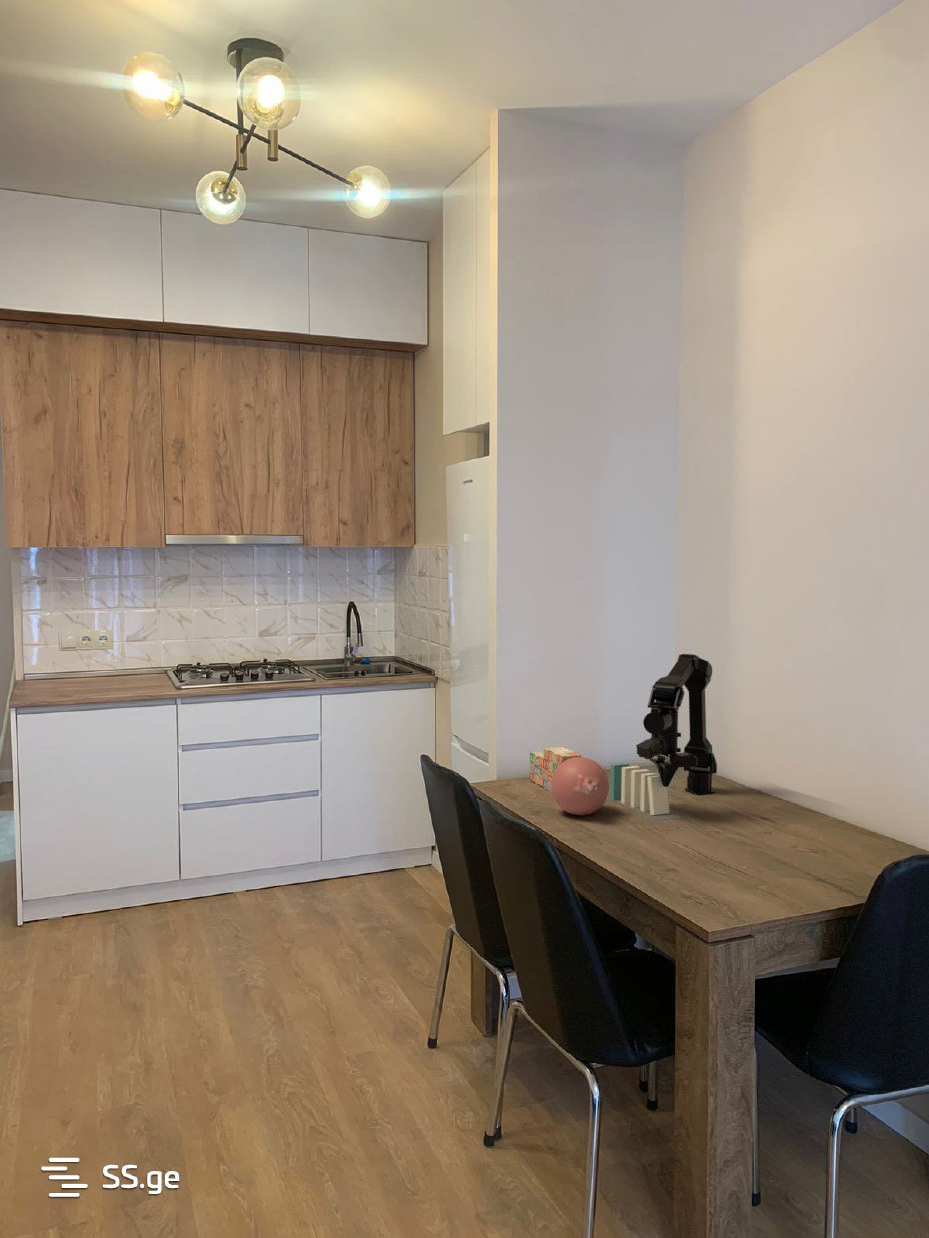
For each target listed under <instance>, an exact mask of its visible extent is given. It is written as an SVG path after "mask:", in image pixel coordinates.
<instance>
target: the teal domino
mask: <svg viewBox="0 0 929 1238" xmlns="http://www.w3.org/2000/svg"><path fill="white" fill-rule="evenodd" d="M622 767H630V764H629V763H628V762H621V763H611V764H610V792H609V793H610V794H609V795H610V799H612V800H621V782H622Z"/></svg>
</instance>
